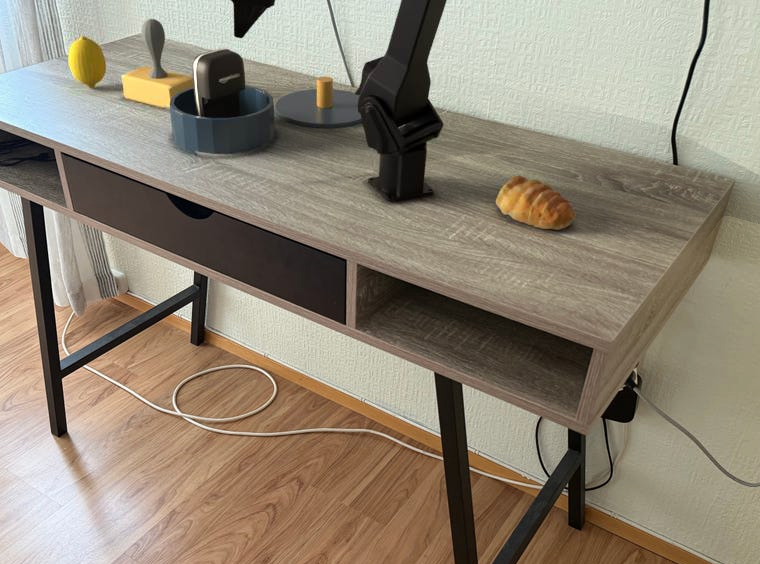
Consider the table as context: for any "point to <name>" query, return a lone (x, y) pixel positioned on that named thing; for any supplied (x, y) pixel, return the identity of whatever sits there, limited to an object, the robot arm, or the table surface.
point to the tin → (223, 124)
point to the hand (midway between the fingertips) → (238, 18)
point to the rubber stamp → (154, 72)
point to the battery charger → (218, 83)
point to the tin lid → (320, 106)
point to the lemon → (87, 61)
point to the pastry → (535, 204)
